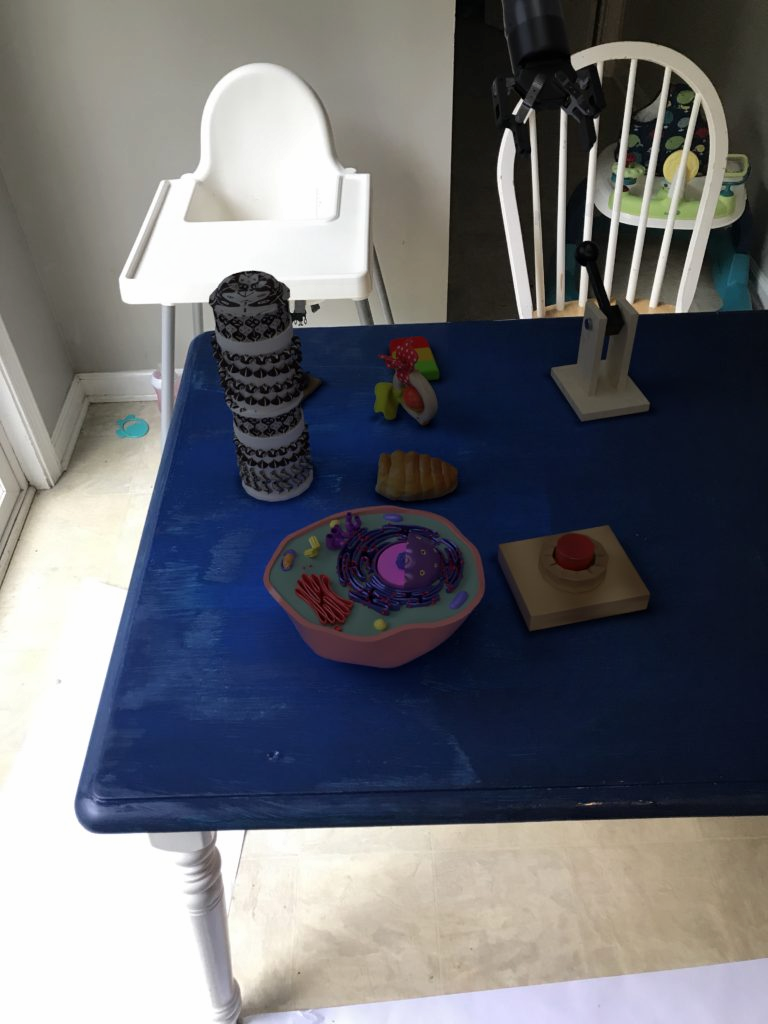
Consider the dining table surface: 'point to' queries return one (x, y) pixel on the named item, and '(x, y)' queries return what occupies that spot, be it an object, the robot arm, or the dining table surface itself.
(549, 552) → the button block
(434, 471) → the pastry
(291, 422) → the decorative candle
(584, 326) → the bracket
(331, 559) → the cell model
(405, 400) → the bird rattle
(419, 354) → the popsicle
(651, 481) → the dining table surface
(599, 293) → the lever
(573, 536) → the button
